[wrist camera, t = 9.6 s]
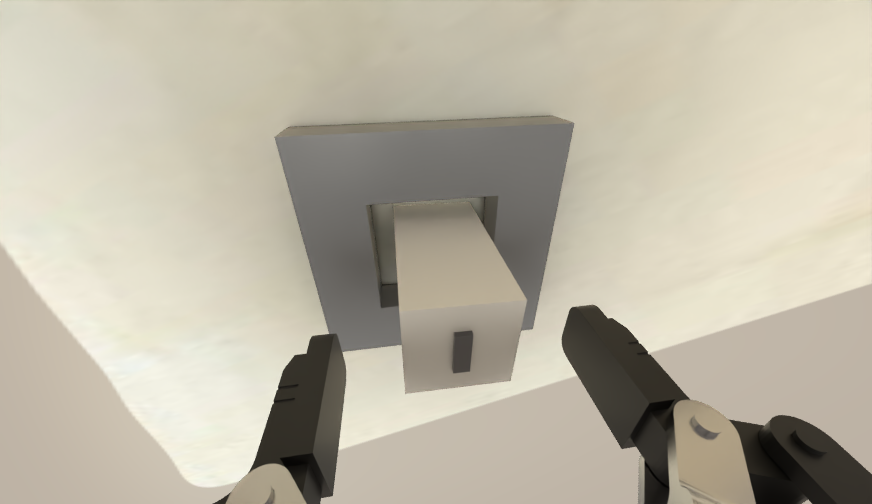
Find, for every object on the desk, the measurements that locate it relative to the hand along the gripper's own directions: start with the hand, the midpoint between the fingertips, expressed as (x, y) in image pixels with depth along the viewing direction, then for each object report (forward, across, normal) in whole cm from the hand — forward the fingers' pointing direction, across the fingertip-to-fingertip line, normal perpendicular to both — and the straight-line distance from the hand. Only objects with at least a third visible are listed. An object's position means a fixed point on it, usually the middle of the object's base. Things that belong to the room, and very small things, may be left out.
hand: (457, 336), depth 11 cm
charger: (+8, 0, 0) cm, 8 cm away
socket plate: (+8, 0, 0) cm, 8 cm away
